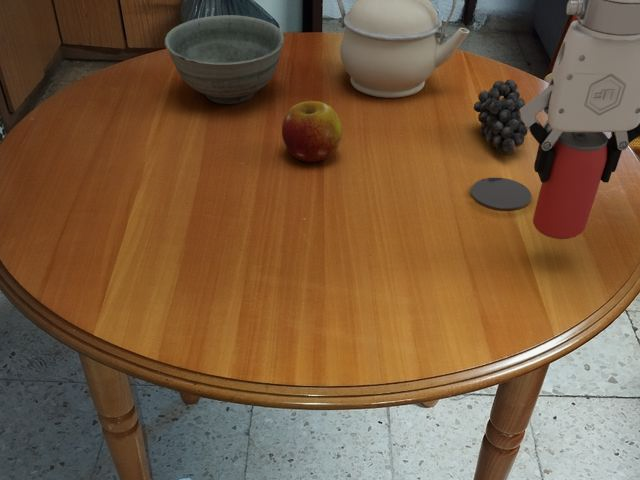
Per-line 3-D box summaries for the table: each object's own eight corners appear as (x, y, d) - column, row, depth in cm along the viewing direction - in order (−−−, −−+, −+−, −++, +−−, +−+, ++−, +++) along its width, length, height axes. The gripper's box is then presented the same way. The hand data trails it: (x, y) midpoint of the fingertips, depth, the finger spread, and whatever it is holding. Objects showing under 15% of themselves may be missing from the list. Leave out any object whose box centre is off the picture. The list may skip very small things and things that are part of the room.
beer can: (569, 210, 90) (596, 120, 81) (593, 237, 86) (623, 146, 77) (523, 217, 89) (544, 126, 80) (544, 245, 85) (569, 153, 76)
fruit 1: (271, 160, 108) (269, 110, 103) (299, 137, 114) (298, 88, 108) (324, 175, 106) (325, 123, 100) (350, 150, 111) (352, 101, 105)
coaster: (525, 180, 105) (525, 178, 105) (535, 211, 99) (536, 208, 99) (467, 179, 105) (467, 176, 105) (474, 210, 99) (475, 207, 99)
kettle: (316, 91, 126) (317, -70, 108) (350, 57, 138) (357, -94, 119) (446, 115, 120) (471, -52, 102) (470, 77, 132) (497, -79, 113)
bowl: (280, 69, 133) (278, 12, 126) (291, 116, 119) (289, 55, 112) (173, 74, 131) (165, 16, 124) (172, 122, 117) (163, 60, 110)
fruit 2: (533, 107, 101) (519, 66, 111) (477, 123, 104) (469, 81, 113) (537, 160, 108) (524, 116, 117) (485, 173, 110) (476, 129, 120)
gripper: (539, 26, 66) (504, 193, 80) (718, 25, 66) (653, 193, 79) (526, 0, 71) (495, 161, 85) (692, -1, 71) (635, 161, 84)
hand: (572, 175), depth 82 cm, fingers closed on beer can, 6 cm apart
